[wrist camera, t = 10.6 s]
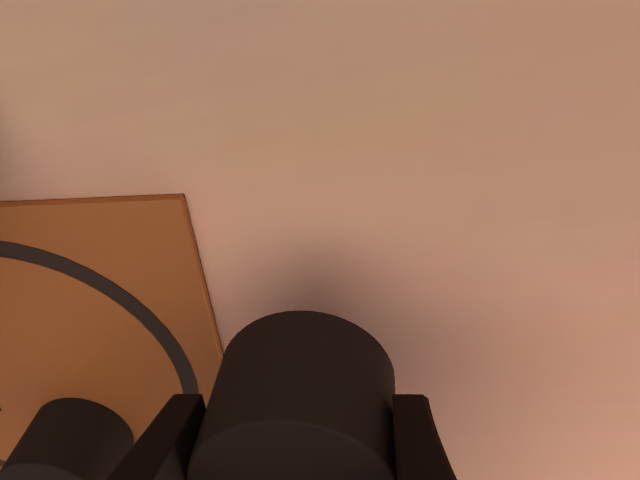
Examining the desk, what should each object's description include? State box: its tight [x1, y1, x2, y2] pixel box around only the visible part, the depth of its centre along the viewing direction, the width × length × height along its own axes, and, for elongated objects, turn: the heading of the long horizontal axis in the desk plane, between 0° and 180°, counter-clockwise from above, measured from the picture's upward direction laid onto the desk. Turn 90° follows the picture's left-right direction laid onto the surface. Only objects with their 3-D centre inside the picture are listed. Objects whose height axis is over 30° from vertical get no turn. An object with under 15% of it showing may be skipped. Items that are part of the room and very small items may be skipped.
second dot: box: [187, 311, 397, 480], centre depth 12 cm, size 4×4×3 cm
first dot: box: [0, 398, 133, 480], centre depth 22 cm, size 4×4×3 cm
